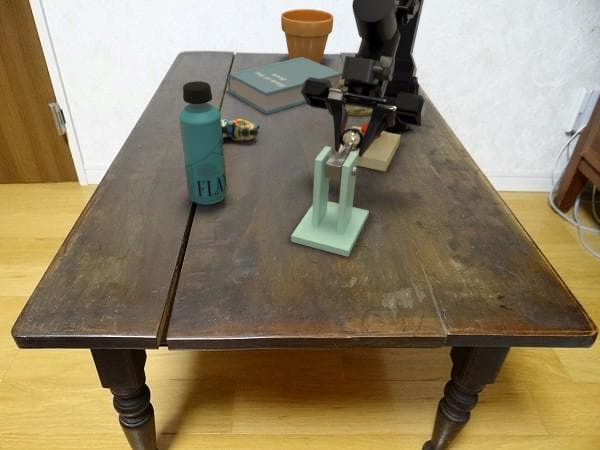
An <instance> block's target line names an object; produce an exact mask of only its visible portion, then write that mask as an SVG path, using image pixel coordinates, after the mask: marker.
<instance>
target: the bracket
mask: <svg viewBox="0 0 600 450" xmlns="http://www.w3.org/2000/svg"><path fill="white" fill-rule="evenodd" d="M331 155H332V146H328V145H327V146H326V145H325V146H324V147H323V148H322V149H321V151H320V152H319V154H318V155H317V156H316V158H315V159H314V170H313V171H314V172H313V192H312V204H311V206H310V207H309V209H308V210H307V211H306V213H305V215H304V216H303V217H302V219H301V221H300V222H299V223H298V225H297V227H296V228H295V230H294V231H293V232H292V234H291V235H290V242H292V243H295V244H298V245H302V246H306V247H309V248H314V249H317V250H321V251H325V252H328V253H332V254H336V255H340V256H343V257H346V258H348V257H349V256H350V254H351V252H352V250H353V248H354V247H355V245H356V242H357V240H358V238H359V236H360V234H361V232H362V230H363V228H364V227H365V224H366V222H367V220H368V218H369V216H370V215H369V213H370V211H369V210H368V209H363V208H358V207H355V206H353V204H354V197H355V187H356V178H357V174H358V167H359V166H357V160H358V153H357V152H351V153H350V155H349V156H348V158H347V159H346V161H345V162H344V164H343V165H342V176H341V180H340V190H339V198H338V199H339V201H338V202H333V201H329V189H330V187H329V186H330V179H329V178H325V174H326V163H327V161H328V160H329V158H330V157H331Z"/></svg>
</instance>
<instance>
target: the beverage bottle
mask: <svg viewBox="0 0 600 450" xmlns="http://www.w3.org/2000/svg"><path fill="white" fill-rule="evenodd" d="M182 100H183V101H184V102H185V103H187V105H185V106H184V107H183V108H182V109H181V110H180V111H179V113H178V116H177V119H178V121H179V128H180V137H181V145H182V151H183V152H182V153H183V159H184V171H185V178H186V179H185V180H186V185H187V194H188V197H189V199H190V200H191V201H192V202H194V203H196V204H198V205H203V206H205V205H206V206H207V205H213V204H217V203H219V202H222V200H224V199H225V197H226V196H227V188H228V187H227V186H228V184H227V179H228V178H227V172H226V164H225V163H226V159H225V152H224V151H225V149H224V147H225V145H224V141H225V140H224V138H223V136H222V135H223V134H222V133H223V132H222V128H223V127H221V119H222V118H221V117H222V114H221V111H220V110H219V109H218V108H217V107H216V106H214V104H211V103H209V102H211V101H212V100H213V94H212V89H211V84H210V83H208V82H207V81H201V80H199V81H189V82H187V83H184V85H183V86H182Z"/></svg>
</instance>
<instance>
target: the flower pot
mask: <svg viewBox="0 0 600 450" xmlns="http://www.w3.org/2000/svg"><path fill="white" fill-rule="evenodd" d="M280 21H281V22H280V24H281V26H280V27H281V30H282V32H283V33H284V35H285V42H286V48H287V54H288V60H291V59H295V58H300V57H304V58H305V59H309V60H312V61H314V62H316V63H319V64H321V65H322V61H323V58H324V54H325V50H326V47H327V42H328V38H329V35H330V34H331V33H333V27H334V15H333V14H332V13H330V12H329V11H326V10H325V11H324V10H321V9H320V10H319V9H310V8H301V9H300V8H298V9H289V10H287V11H284V12H282V13H281V15H280Z"/></svg>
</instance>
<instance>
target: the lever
mask: <svg viewBox="0 0 600 450" xmlns="http://www.w3.org/2000/svg"><path fill="white" fill-rule="evenodd" d="M363 137H364V135H363V133H362V132H361V131H360V130H359V129H357V128H352V127H349V128H347V129H345V131H344V132H343V134H342V136H341V144H342V146H343V148H342V149H341V151H340V152H339V154H338V155H336V154H335V153H331V157H330V158H329V160H328V161H327V163H326V174H325V178H329V180H334V181H339V182H341V176H342V165H343V164H344V162H345V161H346V159H347V157H348V155H349V154H350V152H351V151H357V150H359V149H360V145H361V142H362V140H363Z"/></svg>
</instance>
